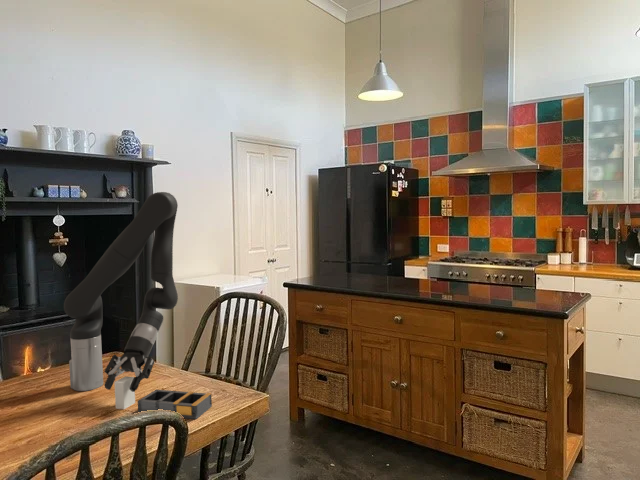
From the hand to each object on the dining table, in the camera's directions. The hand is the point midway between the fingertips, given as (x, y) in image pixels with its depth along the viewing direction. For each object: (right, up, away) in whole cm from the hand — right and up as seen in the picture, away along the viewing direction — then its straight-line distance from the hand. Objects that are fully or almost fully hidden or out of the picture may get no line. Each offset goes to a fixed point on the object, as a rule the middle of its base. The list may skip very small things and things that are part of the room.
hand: (119, 389), depth 138 cm
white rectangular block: (+1, -6, +3) cm, 6 cm away
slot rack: (+17, -5, -2) cm, 18 cm away
